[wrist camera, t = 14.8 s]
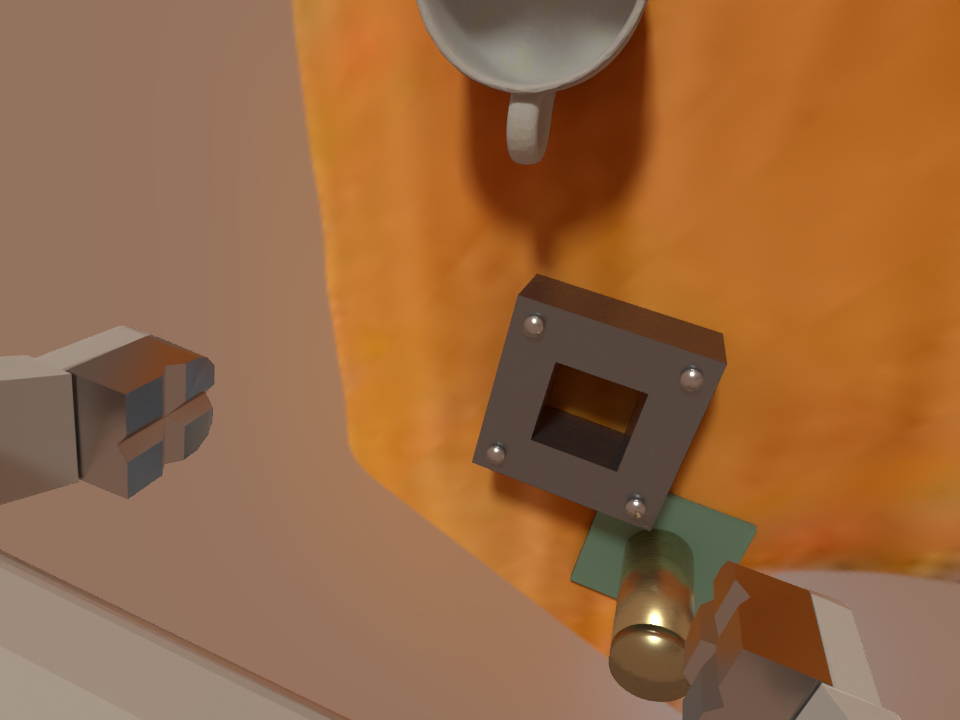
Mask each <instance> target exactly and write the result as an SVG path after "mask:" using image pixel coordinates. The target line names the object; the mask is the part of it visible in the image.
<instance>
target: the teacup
mask: <svg viewBox="0 0 960 720" xmlns="http://www.w3.org/2000/svg"><path fill="white" fill-rule="evenodd" d="M646 3H647V0H417V5H418V7H419V11H420V14H421V17H422V20H423V22H424V24H425V27H426V29H427V31H428V33H429V35H430V36H431V38H432V39H433V41H434V42H435V44H436V45H437V47H438V49H439V50H440V52H441V53H442V54H443V55H444V56H445V58H446V59H447V60H448V61H449V62H450V63H451V64H452V65H453V66H455V67H456V68H457V69H458V70H459V71H460V72H461V73H463V74H464V75H466V76H467V77H469V78H470V79H472V80H474V81H476V82H478V83H480V84H482V85H485V86H487V87H490V88H493V89H497V90H500V91H504V92H509V93H511V97H510V102H509V110H508V117H507V132H506V139H507V149H508V152H509V155H510V158H511V159H512V160H513V161H514V162H516V163H518V164H523V165H530V164H536V163H538V162H540V161H541V160H542V158H543V157H544V154H545V151H546V148H547V143H548V138H549V133H550V126H551V119H552V111H553V104H554V100H555V96H556V92H557V91H561V90H564V89H568V88H571V87H573V86H576V85H578V84H580V83H582V82H584V81H587V80H588V79H590V78H592V77H593V76H595V75H597V74H598V73H599V72H600V71H602V70H603V69H604V68H606V67H607V66H608V65H609V64H610V63H611V62H612V61H613V60H614V59H615V58H616V57H617V56H618V55H619V53H620V52H621V51H622V50H623V48H624V47H625V46H626V44H627V43H628V41H629V40H630V38H631V37H632V35H633V33H634V31H635V30H636V28H637V26H638V24H639V22H640V19H641V17H642V15H643V12H644V9H645V7H646Z"/></svg>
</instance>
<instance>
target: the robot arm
mask: <svg viewBox="0 0 960 720" xmlns="http://www.w3.org/2000/svg"><path fill="white" fill-rule="evenodd" d="M213 385H214V365H213V363H212V362H211V361H210V360H209V359H208V358H207V357H204V356H202V355H200V354H197V353H195V352H192V351H190V350H188V349H185V348H183V347H181V346H178V345H176V344H173V343H171V342H169V341H166V340H164V339H161V338H159V337H155V336H153V335H152V334H149V333H146V332H143V331H141V330H138V329H136V328H133V327H128V326H118V327H116V328H113V329H110V330H108V331H105V332H102V333H100V334H97V335H94V336H92V337H89V338H87V339H84V340H81V341H79V342H76V343H74V344H71V345H69V346H66V347H63V348H60V349H58V350H55V351H52V352H50V353H47V354H45V355H42V356H39V357H37V358H32V357H29V356H27V355H20V356H4V357H0V505H2V504H5V503H8V502H12V501H15V500H19V499H22V498H26V497H29V496H32V495H36V494H39V493H43V492H46V491H50V490H53V489H56V488H60V487H63V486H67V485H70V484H74V483H77V482H79V479H80V480H82V481H85V482H87V483H90V484H92V485H95V486H97V487H99V488H102V489H104V490H107V491H109V492H112V493H114V494H116V495H119V496H121V497H124V498H126V499H129V498H130V497H132V496H133V495H134V494H136V493H137V492H139V491H140V490H142V489H143V488H145V487H146V486H147V485H149V484H150V483H152V482H153V481H155V480H156V479H157V478H159V477H160V476H162V473H163V469H164V464H167V463H172V462H177V461H181V460H184V459H186V458H187V457H188V456H190V455H191V454H193V453H194V452H195V451H197V449H198V448H199V447H200V445H201V444H202V442H203V441H204V440H205V438H206V437H207V435H208V433H209V429H210V427H211V424H212V416H213V407H212V405H211V403H210V401H209V399H208V397H207V395H206V391H208V390H209V389H210V388H211V387H212V386H213ZM713 590H714V599H713V600H711V601H708V602H706V603H704V604H701V605H700V607H699V609H698V611H697V613H696V615H695V617H694V619H693V621H692V623H691V626H690V629H689V632H688V636H687V639H686V643H685V649H684V656H683V673H684V675H685V677H686V678H687V680H688V682H689V683H690V685H691V687H690V689H689V691H688V692H687V694H686V696H685V698H684V699H683V720H902V719H901V718H900V717H899V716H898V715H897V714H896V713H893V712H891V711H889V710H887V709H884V708H883V706H882V703H881V700H880V697H879V694H878V691H877V688H876V685H875V682H874V679H873V676H872V673H871V670H870V667H869V664H868V660H867V657H866V655H865V651H864V648H863V645H862V642H861V639H860V636H859V633H858V630H857V627H856V624H855V621H854V618H853V615H852V612H851V609H850V608H849V607H848V606H847V605H846V604H845V603H844V602H842V601H839V600H836V599H833V598H831V597H828V596H825V595H822V594H819V593H817V592H814V591H811V590H808V589H803V588H800V587H798V586H795V585H792V584H790V583H787V582H784V581H781V580H779V579H776V578H774V577H771V576H768V575H765V574H763V573H760V572H757V571H755V570H752V569H749V568H747V567H744V566H741V565H739V564H736V563H733V562H731V561H727V562H726V563H725V564H724V565H723V566H722V567H721V568H720V570H719V572H718V574H717V576H716V577H715V579H714V581H713ZM0 720H350V719H348V718H346V717H344V716H342V715H340V714H338V713H336V712H334V711H331V710H330V709H327V708H326V707H323V706H321V705H319V704H317V703H315V702H313V701H311V700H309V699H307V698H305V697H303V696H300V695H299V694H297V693H295V692H293V691H291V690H288V689H286V688H284V687H282V686H280V685H278V684H276V683H274V682H272V681H270V680H268V679H266V678H264V677H262V676H260V675H257V674H256V673H253V672H251V671H249V670H247V669H245V668H243V667H241V666H239V665H237V664H235V663H233V662H231V661H229V660H227V659H225V658H223V657H221V656H218V655H216V654H214V653H212V652H210V651H208V650H206V649H204V648H202V647H200V646H198V645H195V644H194V643H192V642H190V641H187V640H186V639H184V638H181V637H179V636H177V635H175V634H173V633H171V632H169V631H167V630H165V629H163V628H161V627H159V626H157V625H155V624H153V623H150V622H148V621H146V620H144V619H142V618H140V617H138V616H136V615H134V614H132V613H130V612H128V611H126V610H124V609H122V608H120V607H118V606H116V605H114V604H111V603H109V602H107V601H105V600H103V599H101V598H99V597H97V596H95V595H93V594H91V593H89V592H87V591H84V590H83V589H81V588H79V587H76V586H74V585H72V584H70V583H68V582H66V581H64V580H62V579H60V578H58V577H56V576H54V575H52V574H50V573H47V572H46V571H44V570H41V569H39V568H37V567H35V566H33V565H31V564H29V563H27V562H25V561H23V560H21V559H19V558H17V557H15V556H13V555H10V554H9V553H6V552H4V551H2V550H0Z"/></svg>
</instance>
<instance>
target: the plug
mask: <svg viewBox="0 0 960 720" xmlns="http://www.w3.org/2000/svg"><path fill="white" fill-rule="evenodd" d="M694 617H695V594H694V556H693V552H692V550H691V548H690V546H689V545H688V544H687V543H686V541H685V540H683V539H682V538H681V537H680V536H678V535H676V534H675V533H672V532H670V531H667V530H662V529H651V531H648V530H642V531H640V532H638V533H636V534H634V535H633V536H632V537H631V538H630V539H629V540H628V541H627V543H626V545H625V549H624V556H623V563H622V570H621V577H620V584H619V591H618V598H617V606H616V613H615V620H614V627H613V634H612V641H611V648H610V656H609V668H610V671H611V674H612V675H613V677H614V679H615V680H616V681H617V683H618V684H619V685H620V686H621V687H623V688H624V689H625V690H626V691H628V692H630V693H631V694H633V695H636V696H637V697H640V698H642V699H646V700H650V701H657V702H667V701H673V700H677V699H680V698H682V697H684V696H685V695H686V694H687V692H688V691H689V689H690V687H691V685H690V683H689V682H688V680H687V678H686V677H685V675H684V673H683V656H684V649H685V643H686V639H687V636H688V632H689V629H690V626H691V623H692V621H693V619H694Z"/></svg>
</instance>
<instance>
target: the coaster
mask: <svg viewBox="0 0 960 720" xmlns="http://www.w3.org/2000/svg"><path fill="white" fill-rule="evenodd" d="M652 529H662V530H667V531H670V532H672V533H675V534H676V535H678V536H680V537H681V538H682V539H683V540H685V541H686V543H687V544H688V545H689V546H690V548H691V550H692V552H693V556H694V594H695V615H696V613H697V611H698V609H699V607H700V605H701V604H704V603H706V602H708V601H711V600H713V599H714V590H713V581H714V579H715V577H716V576H717V574H718V572H719V570H720V568H721V567H722V566H723V565H724V564H725V563H726V562H727V561H731V562H733V563H736V564H739V562H740V560H741V558H742V557H743V555H744V553H745V551H746V549H747V548H748V546H749V544H750V542H751V540H752V539H753V537H754V535H755V533H756V531H757V530H756V526H755V525H753V524H750V523H747V522H745V521H742V520H739V519H737V518H734V517H731V516H729V515H726V514H723V513H721V512H718V511H715V510H713V509H710V508H707V507H705V506H702V505H699V504H697V503H694V502H691V501H689V500H686V499H683V498H681V497H678V496H675V495H673V494H670V493H668V494H667V496H666V498H665V500H664V502H663V505H662V507H661V509H660V511H659V513H658V516H657V518H656V520H655V522H654V524H653V526H652ZM642 530H645V529H643V528H640V527H638V526H635V525H632V524H630V523H627V522H625V521H622V520H620V519H617V518H614V517H612V516H609V515H607V514H604V513H601V512H599V511H597V512H596V515H595V517H594V520H593V522H592V525H591V527H590V530H589V532H588V535H587V537H586V539H585V542H584V544H583V547H582V549H581V552H580V554H579V557H578V559H577V562H576V564H575V567H574V569H573V572H572V574H571V578H570V580H571V581H574V582H576V583H579V584H581V585H584V586H586V587H588V588H591V589H593V590H596V591H598V592H601V593H603V594H605V595H608V596H610V597H613V598H615V599H617V598H618V591H619V584H620V577H621V570H622V563H623V556H624V549H625V545H626V543H627V541H628V540H629V539H630V538H631V537H632V536H633V535H634V534H636V533H638V532H640V531H642Z"/></svg>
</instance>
